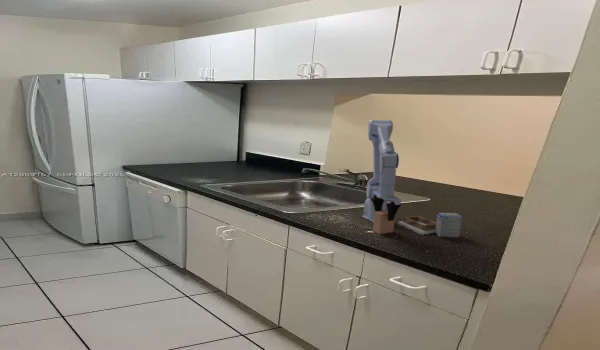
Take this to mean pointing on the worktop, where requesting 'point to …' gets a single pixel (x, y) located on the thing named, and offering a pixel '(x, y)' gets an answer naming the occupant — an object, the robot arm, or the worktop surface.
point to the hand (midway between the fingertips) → (384, 217)
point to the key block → (382, 222)
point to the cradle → (419, 224)
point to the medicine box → (448, 224)
